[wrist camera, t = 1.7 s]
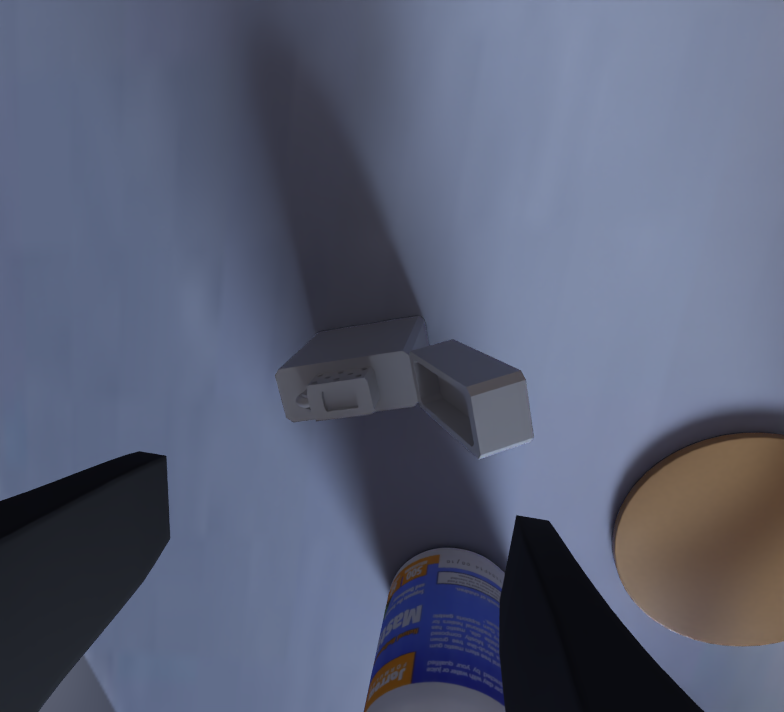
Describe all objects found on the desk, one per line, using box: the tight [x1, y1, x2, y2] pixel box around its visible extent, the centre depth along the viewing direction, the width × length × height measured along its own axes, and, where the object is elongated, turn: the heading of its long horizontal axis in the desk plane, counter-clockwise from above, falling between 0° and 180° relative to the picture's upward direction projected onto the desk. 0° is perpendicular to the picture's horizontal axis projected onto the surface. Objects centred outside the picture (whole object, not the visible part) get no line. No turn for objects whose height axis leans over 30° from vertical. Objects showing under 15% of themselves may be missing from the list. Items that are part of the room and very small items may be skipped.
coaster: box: [612, 433, 784, 646], centre depth 20 cm, size 9×9×1 cm
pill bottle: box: [364, 548, 505, 712], centre depth 18 cm, size 5×5×10 cm
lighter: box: [275, 316, 534, 459], centre depth 16 cm, size 7×2×8 cm, turn 102°
